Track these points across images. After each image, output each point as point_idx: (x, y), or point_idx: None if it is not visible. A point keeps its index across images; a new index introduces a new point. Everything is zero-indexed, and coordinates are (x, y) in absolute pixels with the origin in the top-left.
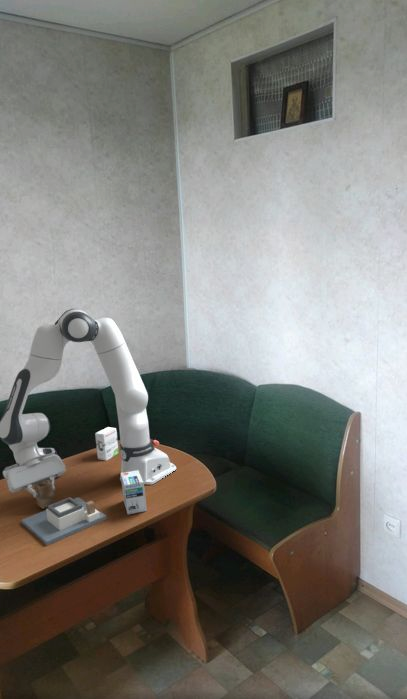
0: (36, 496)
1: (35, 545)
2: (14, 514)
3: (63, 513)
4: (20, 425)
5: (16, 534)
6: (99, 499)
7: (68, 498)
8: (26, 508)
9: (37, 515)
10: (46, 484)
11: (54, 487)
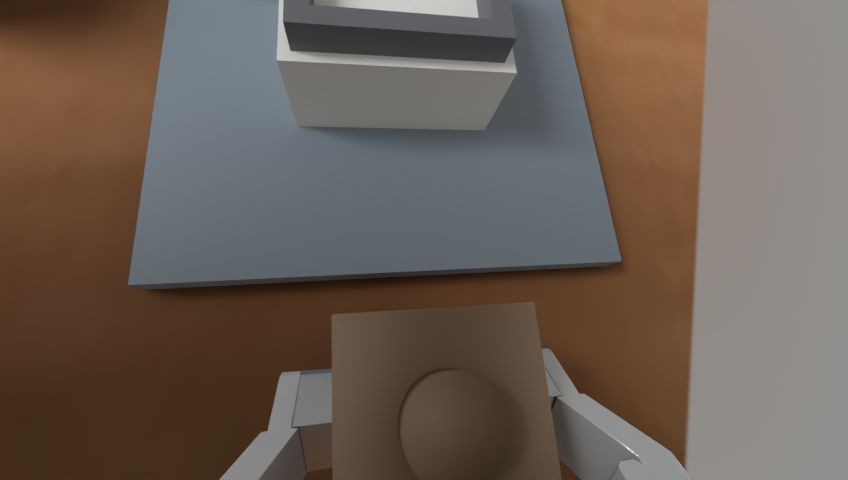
0: None
1: (585, 18)
2: None
3: None
4: None
5: (647, 168)
6: (15, 178)
7: (310, 12)
8: None
9: (518, 238)
10: (402, 383)
11: (286, 377)
